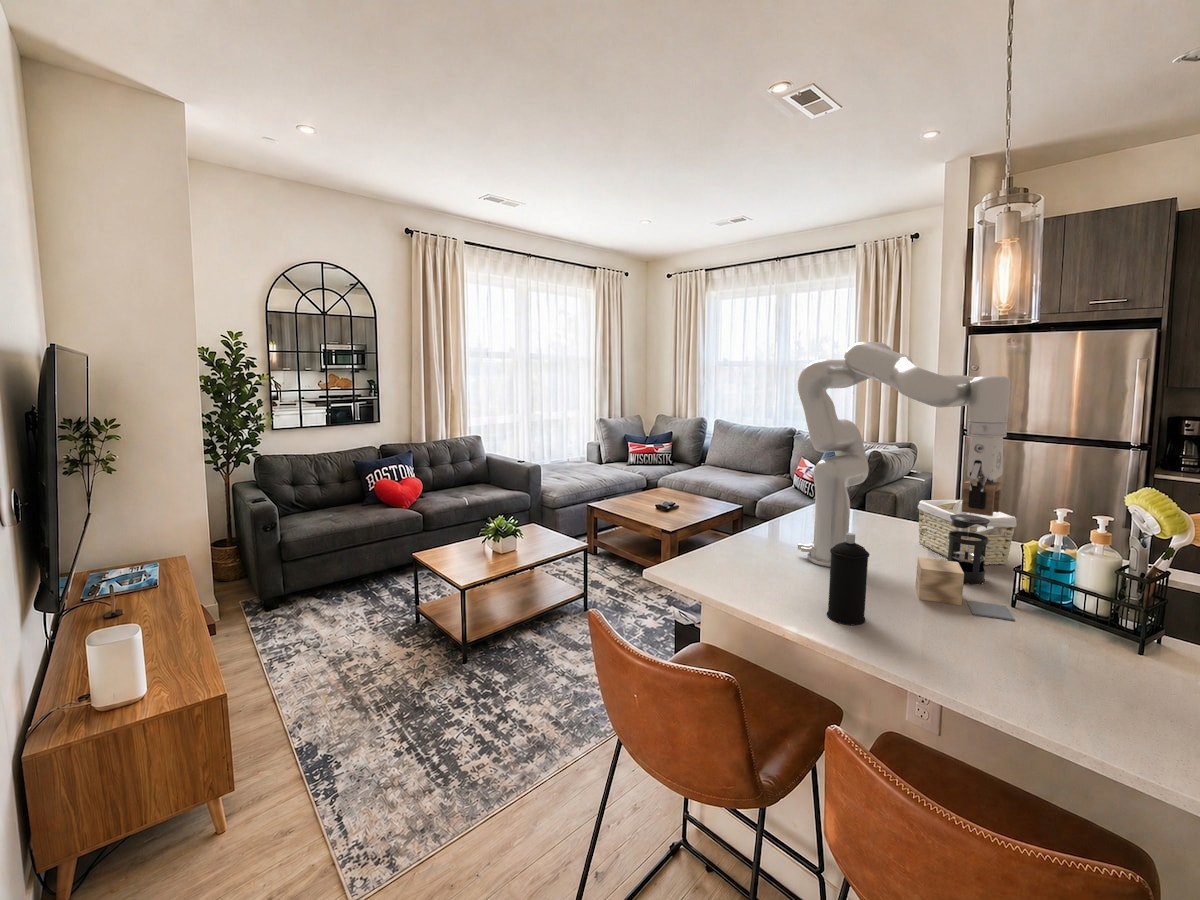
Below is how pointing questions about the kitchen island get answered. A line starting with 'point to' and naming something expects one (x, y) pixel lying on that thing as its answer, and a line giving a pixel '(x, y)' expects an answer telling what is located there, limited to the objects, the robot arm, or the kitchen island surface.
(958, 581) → the plinth
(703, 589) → the kitchen island surface
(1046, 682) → the kitchen island surface
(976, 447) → the robot arm
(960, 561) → the french press
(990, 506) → the u-shaped wooden block
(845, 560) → the aerosol can
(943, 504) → the storage basket
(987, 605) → the coaster
